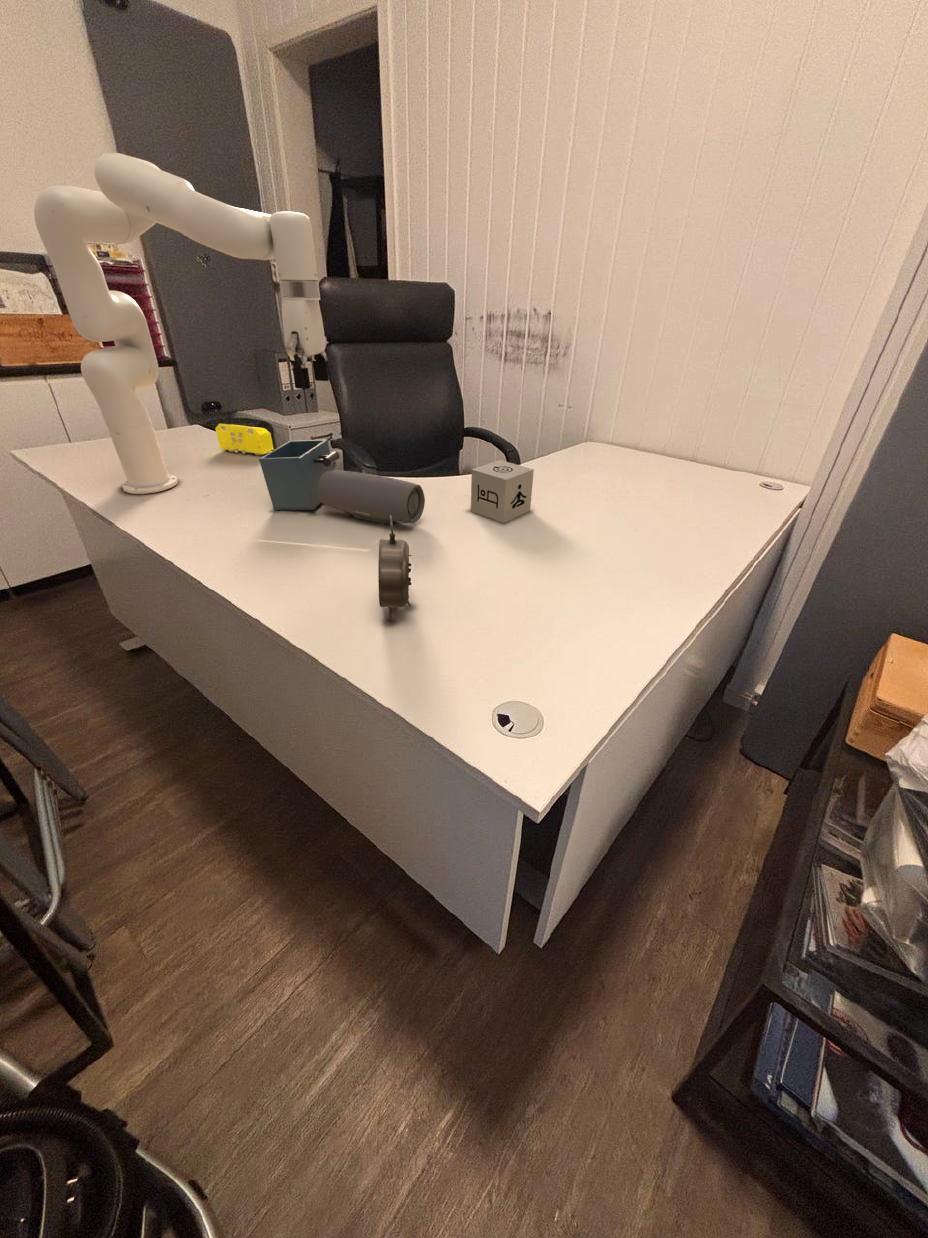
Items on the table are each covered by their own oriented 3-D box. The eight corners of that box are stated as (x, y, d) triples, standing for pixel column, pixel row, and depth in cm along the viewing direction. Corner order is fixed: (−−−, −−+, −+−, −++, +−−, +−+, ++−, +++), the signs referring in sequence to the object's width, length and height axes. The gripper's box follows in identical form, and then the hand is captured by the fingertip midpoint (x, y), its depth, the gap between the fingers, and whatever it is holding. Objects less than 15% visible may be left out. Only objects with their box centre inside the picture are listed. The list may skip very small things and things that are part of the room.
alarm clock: (383, 590, 90) (375, 503, 80) (413, 589, 90) (409, 502, 81) (380, 626, 81) (370, 532, 71) (414, 625, 81) (408, 531, 72)
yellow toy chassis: (219, 451, 157) (212, 423, 152) (232, 446, 161) (225, 419, 157) (263, 457, 153) (257, 428, 148) (274, 452, 157) (269, 423, 153)
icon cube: (470, 511, 120) (471, 469, 114) (497, 500, 126) (499, 459, 120) (503, 523, 114) (506, 479, 109) (530, 510, 121) (533, 469, 115)
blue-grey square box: (258, 458, 112) (319, 457, 109) (289, 440, 124) (344, 438, 122) (273, 510, 119) (331, 510, 116) (301, 488, 131) (354, 487, 128)
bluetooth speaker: (426, 519, 116) (425, 476, 110) (406, 535, 109) (404, 489, 103) (344, 503, 123) (338, 462, 118) (320, 516, 116) (313, 473, 111)
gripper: (301, 289, 109) (313, 376, 118) (260, 291, 95) (278, 390, 104) (334, 290, 108) (344, 378, 117) (298, 293, 94) (312, 392, 103)
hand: (312, 384), depth 111 cm, fingers open, 9 cm apart
